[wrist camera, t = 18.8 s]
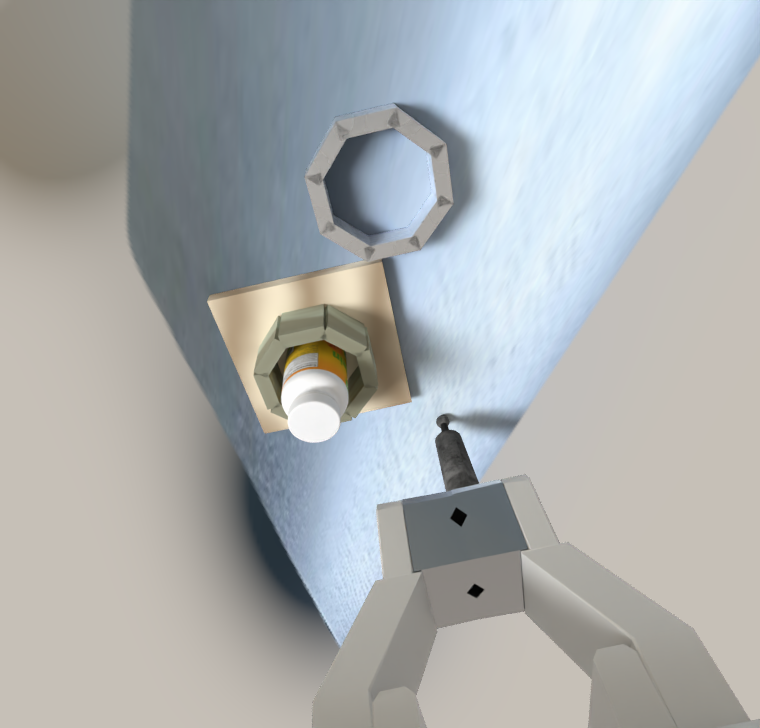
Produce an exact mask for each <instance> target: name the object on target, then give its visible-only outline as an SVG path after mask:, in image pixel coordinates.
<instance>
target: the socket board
mask: <svg viewBox="0 0 760 728" xmlns="http://www.w3.org/2000/svg"><path fill="white" fill-rule="evenodd" d="M207 302H208V305H209V307H210V309H211V311H212V314H213V316H214V318H215V321H216V323H217V325H218V327H219V330H220V332H221V334H222V337H223V339H224V341H225V344H226V346H227V348H228V350H229V353H230V355H231V357H232V360H233V362H234V364H235V366H236V369H237V371H238V373H239V376H240V378H241V380H242V383H243V385H244V387H245V389H246V392H247V394H248V396H249V399H250V401H251V403H252V406H253V408H254V410H255V412H256V415H257V417H258V419H259V422H260V424H261V426H262V428H263V431H264V433H270V432H275V431H279V430H284V429H289V427H288V416H287V414H286V413H285V411H284V409H283V406H282V402H281V393H282V386H283V378H284V370H285V361H286V355H287V350H288V348H289V347H293V346H297V345H302V344H306V343H311V342H315V341H320V340H325V341H327V342H329V343H331V344H333V345H335V346H337V347H339V348H341V349H343V350H345V352H346V361H347V381H348V405H347V408H346V410H345V412H344V414H343V415H342V416H341V422H346V421H351V420H352V417H354V418H356V417H357V415H358V414H359V413H363V412H368V411H372V410H377V409H382V408H386V407H391V406H396V405H400V404H405V403H410V402H412V401H411V396H410V391H409V387H408V382H407V377H406V372H405V368H404V363H403V358H402V354H401V349H400V344H399V339H398V335H397V330H396V325H395V320H394V316H393V311H392V306H391V301H390V297H389V292H388V287H387V283H386V278H385V273H384V268H383V264H382V259H378V260H374V261H369V262H367V261H365V260H363V261H359V262H354V263H350V264H346V265H341V266H337V267H332V268H328V269H324V270H319V271H315V272H310V273H306V274H301V275H297V276H293V277H288V278H284V279H279V280H275V281H270V282H266V283H262V284H257V285H253V286H248V287H244V288H239V289H235V290H231V291H226V292H222V293H217V294H213V295H210V296H209V298H208V300H207Z"/></svg>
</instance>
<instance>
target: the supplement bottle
mask: <svg viewBox="0 0 760 728" xmlns="http://www.w3.org/2000/svg"><path fill="white" fill-rule="evenodd" d="M281 402H282V406H283V409H284V411H285V413H286V414H287V416H288V427H289V429H290V431H291V432H292V434H293V435H294V436H295V437H297V438H298V439H300V440H303V441H306V442H314V443H315V442H322V441H325V440H328V439H330V438H331V437H333V436H334V435H335V434H336V433H337V431H338V429H339V427H340V423H341V416H342V415H343V414H344V412H345V410H346V408H347V405H348V381H347V361H346V352H345V350H343V349H341V348H339V347H337V346H335V345H333V344H331V343H329V342H327V341H325V340H320V341H315V342H311V343H306V344H302V345H297V346H293V347H289V348H288V350H287V355H286V361H285V370H284V378H283V386H282V393H281Z"/></svg>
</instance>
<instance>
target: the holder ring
mask: <svg viewBox="0 0 760 728" xmlns="http://www.w3.org/2000/svg"><path fill="white" fill-rule="evenodd" d="M389 128H394V129H396V130H397V131H398V132H400V133H401V134H403V135H404V136H405V137H407V138H408V139H409V140H411V141H412V142H414V143H415V144H416V145H418V146H419V147H421V148H422V149H423V150H425V151H426V157H427V164H428V171H429V178H430V185H431V193H430V195H429V196H428V198H427V199H426V201H425V202H424V204H423V205H422V207H421V208H420V209H419V211H418V212H417V214H416V215H415V217H414V218H413V220H412V221H411V223H410V224H409V225H408V227H405V228H400V229H396V230H392V231H387V232H383V233H378V234H374V235H370V236H368V235H366V234H365V233H363V232H361V231H360V230H358V229H356V228H355V227H353V226H352V225H350V224H348V223H347V222H345V221H343V220H342V219H340V218H339V217H337V216H335V215H334V214H333V210H332V206H331V202H330V198H329V194H328V190H327V186H326V182H325V179H324V177H325V175H326V173H327V172H328V170H329V168H330V167H331V165H332V163H333V161H334V160H335V158H336V156H337V154H338V153H339V151H340V149H341V147H342V146H343V144H344V142H345V141H346V139H347V138H351V137H355V136H360V135H364V134H368V133H372V132H377V131H381V130H385V129H389ZM305 180H306V183H307V187H308V191H309V194H310V198H311V202H312V205H313V209H314V213H315V216H316V220H317V224H318V227H319V231H320V234H321V235H323V236H325V237H326V238H328V239H330V240H331V241H333V242H335V243H337V244H338V245H340V246H342V247H343V248H345V249H347V250H348V251H350V252H352V253H353V254H355V255H357V256H358V257H360V258H362V259H364V260H365V261H367V262H369V261H374V260H378V259H382V258H387V257H391V256H396V255H400V254H405V253H409V252H413V251H418V250H421V248H422V247H423V246H424V244H425V243H426V241H427V240H428V239H429V237H430V236H431V234H432V233H433V232H434V230H435V229H436V227H437V226H438V225H439V223H440V222H441V220H442V219H443V218H444V216H445V215H446V213H447V212H448V211H449V209H450V208H451V206H452V205H453V204H454V203H453V195H452V187H451V178H450V170H449V162H448V153H447V145H446V143H445V142H444V141H443V140H442V139H441V138H439V137H438V136H437V135H435V134H434V133H433V132H431V131H430V130H428V129H427V128H426V127H424V126H423V125H422V124H420V123H419V122H418V121H416V120H415V119H414V118H412V117H411V116H410V115H408V114H407V113H406V112H404V111H403V110H402V109H400V108H399V107H398V106H396V105H395V104H394V103H391V104H387V105H383V106H379V107H374V108H370V109H366V110H362V111H357V112H353V113H349V114H345V115H341V116H336V117H335V118H334V119H333V121H332V123H331V125H330V127H329V128H328V130H327V132H326V134H325V136H324V138H323V139H322V141H321V143H320V145H319V147H318V148H317V150H316V152H315V154H314V156H313V157H312V159H311V161H310V163H309V165H308V166H307V168H306V172H305Z"/></svg>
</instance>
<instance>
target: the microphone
mask: <svg viewBox="0 0 760 728" xmlns="http://www.w3.org/2000/svg"><path fill="white" fill-rule="evenodd" d="M436 423H437V425H438V426H439V427H440V428H441V430H442V432H441V433H440V434H439V435H438V436H437V437H436V440H435V443H436V448H437V452H438V457H439V461H440V466H441V471H442V475H443V480H444V484H445V489H446V492H448V491H451V490H454V489H458V488H463V487H467V486H472V485H476V484H479V482H478V480H477V477H476V474H475V472H474V469H473V467H472V464H471V461H470V459H469V456H468V454H467V451H466V448H465V446H464V443H463V441H462V438H461V436H460V434H459V433H458V432H457V431H454V430H449V429H448V425H449V419H448V418H447V417H446V416H439V417H438V418H437V421H436Z"/></svg>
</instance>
